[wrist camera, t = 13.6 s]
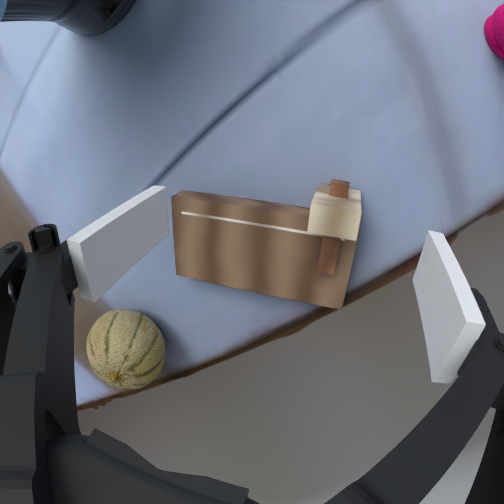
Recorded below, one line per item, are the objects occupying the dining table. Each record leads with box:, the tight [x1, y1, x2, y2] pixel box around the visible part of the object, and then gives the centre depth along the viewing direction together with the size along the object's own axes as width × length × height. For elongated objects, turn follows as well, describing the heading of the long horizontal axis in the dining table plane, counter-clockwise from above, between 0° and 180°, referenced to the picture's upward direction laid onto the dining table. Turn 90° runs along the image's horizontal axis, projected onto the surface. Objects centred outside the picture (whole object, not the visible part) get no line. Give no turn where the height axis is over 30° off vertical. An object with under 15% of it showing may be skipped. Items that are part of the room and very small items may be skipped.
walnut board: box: [172, 190, 360, 309], centre depth 43 cm, size 24×12×3 cm, turn 87°
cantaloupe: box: [86, 309, 166, 389], centre depth 53 cm, size 15×15×15 cm
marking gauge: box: [307, 179, 362, 275], centre depth 36 cm, size 5×11×8 cm, turn 177°
